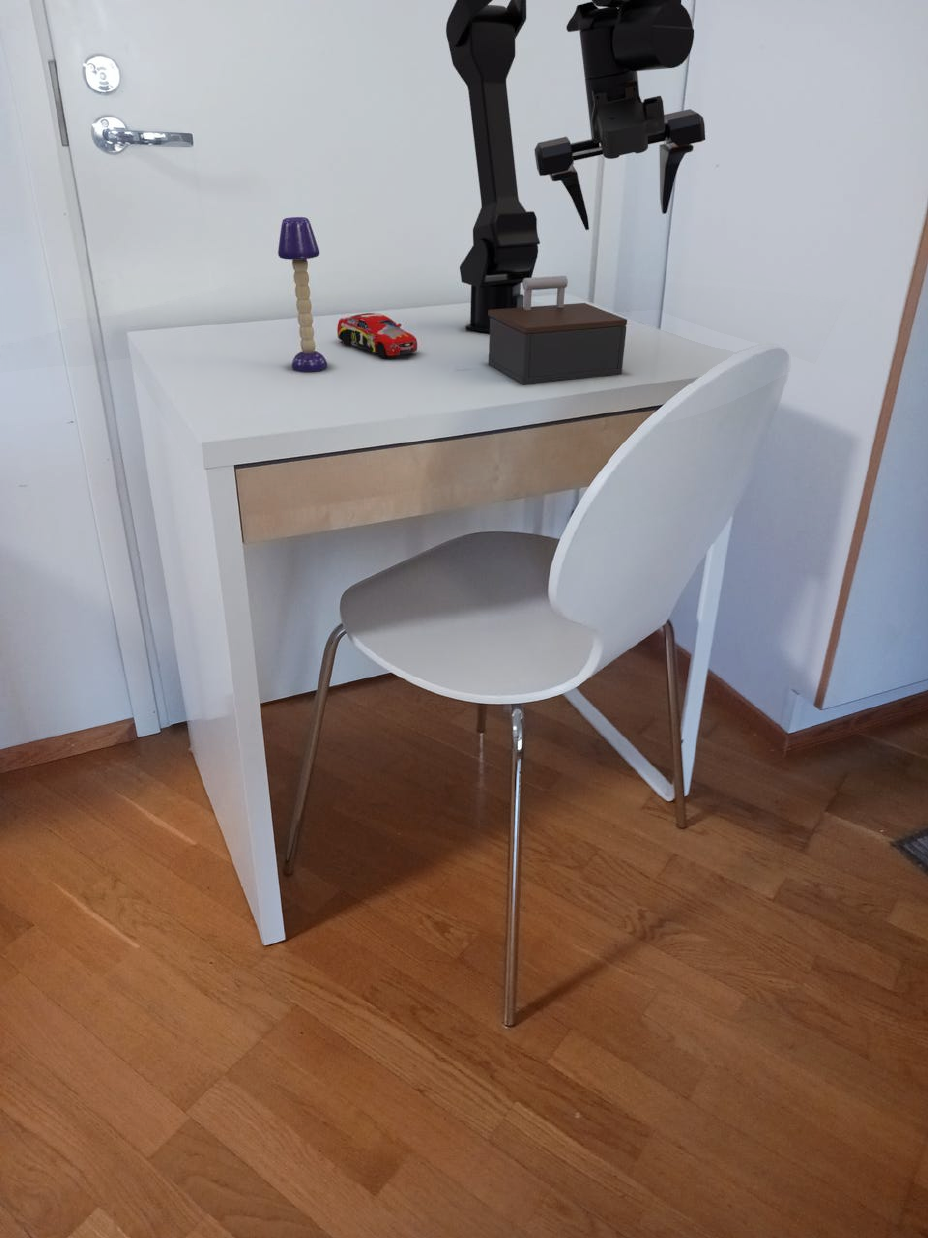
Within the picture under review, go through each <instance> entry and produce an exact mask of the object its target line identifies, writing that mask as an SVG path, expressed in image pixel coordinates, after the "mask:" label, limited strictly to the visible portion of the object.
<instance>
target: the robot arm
mask: <svg viewBox="0 0 928 1238" xmlns="http://www.w3.org/2000/svg"><path fill="white" fill-rule="evenodd" d="M493 1H494V0H456V1H455V3H454V5H453V6H452V10H451V11H450V13H449V16H448V18H447V21H446V26H445V36H446V40H447V43H448V48H449V53H450V57H451V62H452V65H453V67H454V69H455V70H456V72H457V74H459V77H460V78H461V80H462V81H463V82H464V84H465V85H466V87H467V91H468V99H469V100H468V101H469V108H470V118H471V126H472V134H473V142H474V152H475V160H476V168H477V176H478V186H479V195H480V203H481V207H480V210H479V213H478V215H477V218H476V220H475V223H474V225H473V227H472V246H471V248H470V249H469V251H468V252H467V254H466V256H465V257H464V259H463V261H462V262H461V263H460V266H459V272H460V278H461V283H463V284H466V285H469V286H470V311H469V313H470V314H469V323H468V324H466V325H465V326H464V329H465V330H467V331H468V330H469V331H475V332H484V333H490V316H488V310H494V309H507V308H521V307H524V294H522V293H521V292H522V291H521V290H522V287H521V286H522V282H523V279H524V278H533V274H534V270H535V266H536V264H537V263H536V262H537V259H538V256H539V245H540V244H541V241H540V238H539V234H538V218H537V216H536V213H535V211H533V210H531V211H529V210H528V211H527V210H526V209H525V207H524V206H523V204H522V202H521V201H520V197H519V190H518V189H519V188H518V179H517V170H516V162H515V151H514V143H513V134H512V124H511V114H510V107H509V106H510V105H509V104H510V103H509V96H508V87H507V78H508V75H509V73H510V71H511V68H512V66H513V64H514V61H515V58H516V54H517V53H516V40H517V37H518V35H519V33H520V31H521V30H522V27H523V26H524V24H525V23H526V20H527V0H510V1H509V2H508V5H507V6H504V5H500V4H499V5H497V4H490V3H491V2H493ZM600 7H601V8H600ZM565 28H566V31H567V33H572V32H579V42H580V49H581V58H582V64H583V65H582V66H583V75H584V84H585V95H586V103H587V112H588V119H589V120H588V121H589V128H590V129H589V130H590V135H591V136H590V139H586V140H581V141H576V142H572V143H571V141H570V139H569V138H568V137H567V136H564V137H559V138H555V139H549V140H546V141H541V142H538V143H537V144H536V145H535V148H534V149H533V151H534V158H535V165H536V170H537V172H538V175H539V176H540V177H545V176H549V177H550V180H551V182H560V181H561V183H562V185H563V186H564V188H565V189H566V190H567V192H568V195H569V196H570V198H571V200H572V202H573V205H574V207H575V210H576V212H577V214H578V216H579V217H580V220H581V224H582V226H583V227H584V230H585V231H589V230H590V226H589V225H590V224H589V217H588V213H587V208H586V204H585V200H584V196H583V193H582V187H581V184H580V180H579V173H578V170H577V169H576V168H575V166H574V165H575V163H574V162H575V161H579V160H584V159H587V158H588V159H589V158H594V157H598V156H602V155H603V157H604V158H606V159H610V160H613V159H618V158H620V156H624V155H628V154H633V153H634V154H641V153H644V152H646V151H647V150H648V149H649V145H652V144H657V143H661V142H662V144H659V201H660V209H661V214H662V215H665V214H667V213H668V209H669V204H670V200H671V196H672V191H673V187H674V183H675V178H676V177H677V176H676V175H677V173H678V170H679V167H680V165H681V162H682V160H683V159H684V157H685V155H686V154H689V153H691V152H693V151H694V149H695V148H694V147H695V146H694V145H693V144H696V143H702V142H704V141H706V128H705V127H706V126H705V120H704V117H703V116H702V115H701V114H700V113H698V112H696V111H695V110H693V109H691V108H689V109H684V110H680V111H676V112H675V111H674V112H671V113H666V114H665V109H664V100H663V98H662V97H663V96H662V95H657V96H651V97H647V98H644V99H643V100H642V99H641V96H640V90H639V89H640V88H639V87H640V86H639V77H638V72H642V71H644V72H645V71H655V70H665V69H674V68H677V67H679V66H681V65H683V63H684V62H685V61H686V60H687V59H688V57H689V56H690V54H691V51H692V48H693V45H694V39H695V29H694V27H693V21H692V18H691V15H690V12H689V11H688V10H687V8H686V7H685V6H684V5H683V4H682V0H591V1H589V2H584V3H580V4H578V5H577V6H576V7H575V11H574V13H573V15H572V16H571V18H570V19H569V21H568V22H567V24H566V27H565Z"/></svg>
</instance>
